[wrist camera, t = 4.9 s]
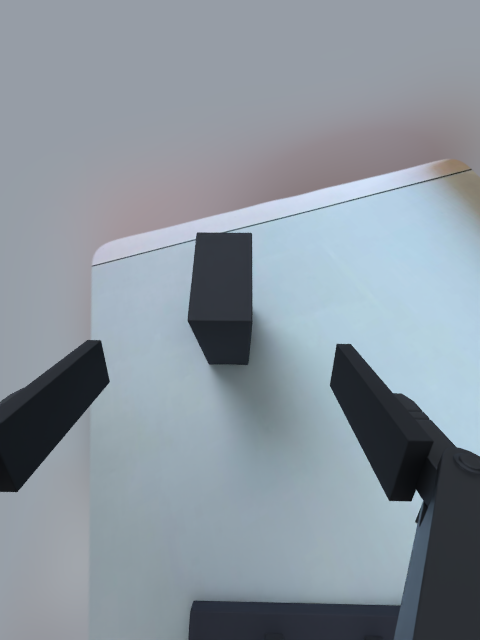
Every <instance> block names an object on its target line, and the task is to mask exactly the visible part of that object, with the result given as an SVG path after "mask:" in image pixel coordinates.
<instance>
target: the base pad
mask: <svg viewBox="0 0 480 640" xmlns="http://www.w3.org/2000/svg"><path fill="white" fill-rule="evenodd" d="M400 607H401V606H389V605H347V604H305V603H263V602H221V601H193V604H192V608H191V611H190V625H189V640H394V636H395V631H396V626H397V621H398V616H399V612H400Z"/></svg>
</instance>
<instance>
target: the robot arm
mask: <svg viewBox="0 0 480 640" xmlns="http://www.w3.org/2000/svg"><path fill="white" fill-rule="evenodd" d="M109 382H110V381H109V376H108V372H107V367H106V362H105V358H104V353H103V348H102V343H101V340H87V341H86V342H84V343H83V344H82V345H80V346H79V347H78V348H77V349H75V350H74V351H72V352H71V353H70V354H68V355H67V356H66V357H65V358H64V359H62V360H61V361H59V362H58V363H57V364H55V365H54V366H53V367H51V368H50V369H49V370H47V371H46V372H45V373H43V374H42V375H41V376H39V377H38V378H37V379H36V380H34V381H33V382H32V383H30V384H29V385H28V386H26V387H25V388H22V389H20V390H19V391H16V392H14V393H12V394H10V395H9V396H8V397H6V398H5V399H3V400H2V401H1V402H0V492H18V490H19V489H20V488H21V487H22V486H23V484H24V483H25V482H26V481H27V480H28V479H29V477H30V476H31V475H32V474H33V473H34V471H35V470H36V469H37V468H38V467H39V466H40V464H41V463H42V462H43V461H44V460H45V458H46V457H47V456H48V455H49V454H50V452H51V451H52V450H53V449H54V448H55V446H56V445H57V444H58V443H59V442H60V441H61V439H62V438H63V437H64V436H65V434H66V433H67V432H68V431H69V430H70V428H71V427H72V426H73V425H74V424H75V423H76V422H77V420H78V419H79V418H80V417H81V416H82V414H83V413H84V412H85V411H86V410H87V408H88V407H89V406H90V405H91V404H92V402H93V401H94V400H95V399H96V398H97V397H98V395H99V394H100V393H101V392H102V391H103V389H104V388H105V387H106V386H107V385H108V383H109ZM330 387H331V389H332V391H333V393H334V395H335V396H336V398H337V400H338V402H339V404H340V406H341V408H342V410H343V412H344V414H345V416H346V418H347V420H348V422H349V424H350V426H351V428H352V429H353V431H354V433H355V435H356V437H357V439H358V441H359V443H360V445H361V447H362V449H363V451H364V453H365V455H366V457H367V459H368V461H369V462H370V464H371V466H372V468H373V470H374V472H375V474H376V476H377V478H378V480H379V482H380V484H381V486H382V488H383V490H384V492H385V494H386V495H387V497H388V499H389V501H412V498H413V496H414V493H415V490H417V491H418V493H419V494H420V496H421V498H422V499H423V503H422V506H421V508H420V511H419V513H418V516H417V518H416V521H415V522H416V523H418V524H417V529H416V534H415V539H414V544H413V548H412V553H411V558H410V563H409V568H408V573H407V578H406V582H405V587H404V592H403V597H402V602H401V607H400V612H399V616H398V621H397V626H396V631H395V636H394V640H480V457H479V456H478V455H476V454H474V453H472V452H470V451H467V450H464V449H461V448H457V447H456V446H455V445H454V444H453V443H452V442H451V441H450V440H449V439H448V438H447V437H446V436H445V434H444V433H443V432H442V431H441V430H440V429H439V428H438V427H437V426H436V425H435V424H434V423H433V422H432V421H431V420H429V417H428V416H427V415H426V414H425V413H424V412H422V410H421V409H420V408H419V407H418V406H417V404H416V403H415V402H414V401H412V400H411V399H409V398H408V397H406V396H405V395H403V394H397V393H392V392H391V391H390V389H389V388H388V387H387V386H386V385H385V384H384V382H383V381H382V380H381V379H380V378H379V377H378V375H377V374H376V373H375V372H374V371H373V370H372V368H371V367H370V366H369V365H368V364H367V363H366V361H365V360H364V359H363V358H362V357H361V356H360V354H359V353H358V352H357V351H356V350H355V349H354V347H353V346H352V345H351V344H337V345H336V352H335V358H334V364H333V370H332V376H331V383H330Z"/></svg>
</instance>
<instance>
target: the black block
mask: <svg viewBox="0 0 480 640" xmlns="http://www.w3.org/2000/svg"><path fill="white" fill-rule="evenodd" d="M188 322H189V324H190V326H191V328H192V331H193V333H194V335H195V337H196V339H197V341H198V343H199V345H200V347H201V349H202V351H203V353H204V355H205V357H206V359H207V361H208V363H209V364H237V365H248V362H249V351H250V341H251V331H252V233H197V236H196V245H195V255H194V264H193V274H192V283H191V292H190V302H189V311H188Z"/></svg>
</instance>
